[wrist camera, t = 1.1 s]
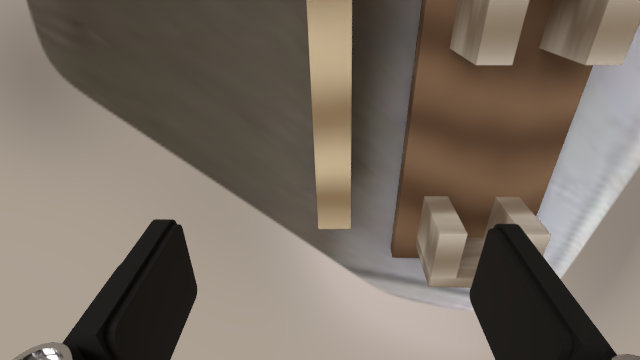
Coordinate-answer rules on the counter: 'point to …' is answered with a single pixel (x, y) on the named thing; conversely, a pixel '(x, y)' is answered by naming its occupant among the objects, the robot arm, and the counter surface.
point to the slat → (331, 108)
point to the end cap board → (493, 119)
